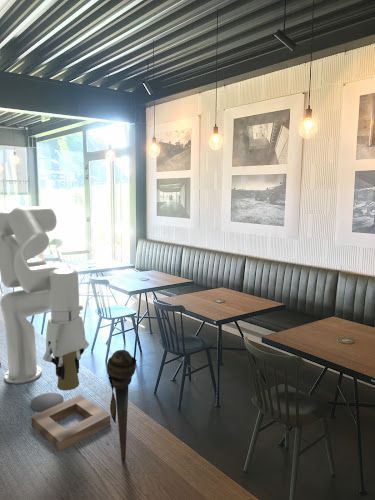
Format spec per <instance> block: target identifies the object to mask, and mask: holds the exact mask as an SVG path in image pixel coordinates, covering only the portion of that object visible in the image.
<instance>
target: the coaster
mask: <svg viewBox="0 0 375 500" xmlns="http://www.w3.org/2000/svg"><path fill="white" fill-rule="evenodd" d="M63 402H64V396H63V395H62V394H61V393H58V392H57V393H56V392H46V393H42V394H40V395H36V396H35V397H33V399H32V400H30V403H29V406H30V409H31V410H32V411H34V412H38V413H40V412H43V411H45V410H47V409H49V408H52V407H54V406H56V405H58V404H60V403H63Z"/></svg>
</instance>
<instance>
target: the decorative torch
mask: <svg viewBox="0 0 375 500" xmlns="http://www.w3.org/2000/svg"><path fill="white" fill-rule="evenodd" d="M136 367H137V359H136V358H135V357H133V356H132V355H131V353H130V351H128V350H125V349H120V350H119V349H118V350H115V352H113V354H112V355H111V356H110V357H109V358H108V360H107V364H106V372H107V375H108V381H109V383H110V387H111V393H112V394H111V398H110V399H111V400H110V404H109V405H110V406H109V409H110V410H109V411H110V417H111V418H112V420H113V423H114V424H116V419H117V424H118V425H117V426H118V434H119V445H120V456H121V457H120V459H121V460H120V461H122V462H124V463H125V462H126V459H127V458H126V456H127V436H128V435H127V430H128V408H129V407H128V406H129V405H128V404H129V403H128V402H129V385H130V384H131V383H132V379H133V376H134V374H135V372H136V369H137V368H136ZM114 390H115V393H114Z"/></svg>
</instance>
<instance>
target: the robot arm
mask: <svg viewBox="0 0 375 500" xmlns="http://www.w3.org/2000/svg"><path fill="white" fill-rule="evenodd" d="M57 222H58V221H57V216H56V214H55V211H54V210H53V209H52V208H51V207H49V206H46V205H40V206H39V205H38V206H37V205H36V206H19V207H16V208H13V209H8V210H6V209H4V210H0V278H1V283H2V285H4V286H3V287H6V288H11V289H12V288H18V287H20V288H22V289H21V290H16V291H12V292H9V293H6V294H4V295H3V296H2V297H1V298H0V311H1V314H2V318H3V322H4V329H5V330H4V331H5V341H6V353H7V366H8V370H7V371H6V372H5V373H4V376H3V377H4V381H5V382H6V383H9V384H16V385H17V384H25V383H29V382H32V381H34V380H36V379H38V378H39V377H40V376H41V375H42V373H43V372H42V371H43V370H42V369H43V368H41V366H39V365H38V361H37V348H36V347H37V346H36V345H37V343H36V334H35V333H36V332H35V327H34V325H33V323H32V322H31V321H29V320H28V319H27V318H28V317H31V316H36V315H40V314H44V313H48V312H50V319H48V320H47V326H46V330H45V331H46V333H45V353H44V355H43V357H42V360H43V361H45V362H47V363H52V364H53V365H54V366H55V375H56V377H57V378H58V377H59V376H60V377H61V379H62V380H63V379H64V373H65V370H64V366H63V365H62V363H63V360H62V357H63V355H66V354H68V353H71V352H74V351H76V353H77V356H76V358H75V363H76V369H77V374H78V375H79V373H80V372H79V369H80V360H81V358H82V355H83V354H84V352H85V351H86V350H87V348H88V347H89V345H90V344H89V342H88V341H87V340H86V332H85V331H86V330H85V325H84V321H83V317H82V314H81V311H83V309H84V307H83V305H80V291H79V290H80V289H79V286H80V284H79V274H78V273H79V272H78V271H77V270H75V269H74V268H71V267H70V265H68V264H67V263H66V262H57V263H47V262H46V260H44V259H43V258H41V257H36V256H39V255H41V254H42V253H43V252H44V251H46V249H47V248H48V246H49V245H50V238H49V236H48V235H47V233H49V232H52V231H53V230H55V228H56V226H57Z"/></svg>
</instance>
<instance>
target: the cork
mask: <svg viewBox="0 0 375 500" xmlns="http://www.w3.org/2000/svg"><path fill="white" fill-rule="evenodd" d="M76 356H77V353H76V351H74V352H71V353H68V354H66V355H63V357H62V360H63V363H62V365H63V366H64V370H65V373H64V379H63V380H62V379H61V377H60V376H59V377H58V376H57V378H58V379H57V386H56V387H57V389H58V390H61V391H72V390H75V389H76V388H78V387H79V385H80V380H79V376H78V375H79V373H78V374H77V369H76V363H75V358H76Z"/></svg>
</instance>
